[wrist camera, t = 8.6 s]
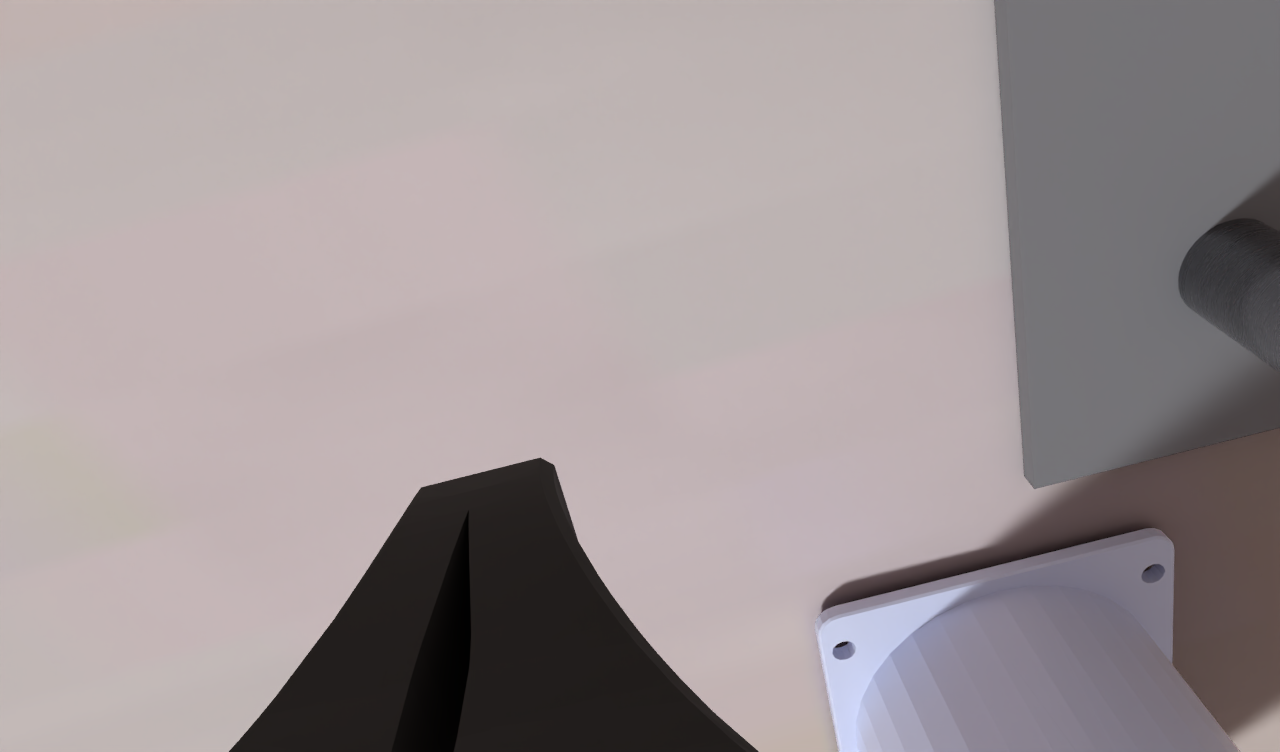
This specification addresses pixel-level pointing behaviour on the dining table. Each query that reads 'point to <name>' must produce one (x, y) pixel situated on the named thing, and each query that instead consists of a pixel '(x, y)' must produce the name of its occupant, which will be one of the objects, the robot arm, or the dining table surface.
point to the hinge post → (1237, 284)
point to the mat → (1132, 220)
